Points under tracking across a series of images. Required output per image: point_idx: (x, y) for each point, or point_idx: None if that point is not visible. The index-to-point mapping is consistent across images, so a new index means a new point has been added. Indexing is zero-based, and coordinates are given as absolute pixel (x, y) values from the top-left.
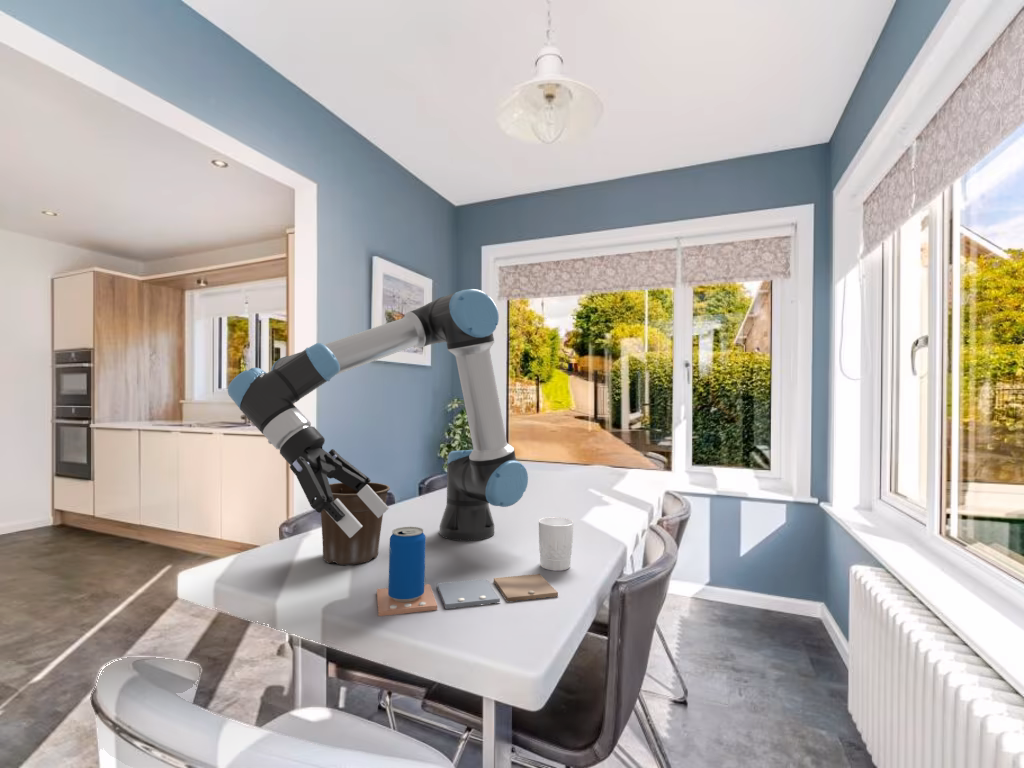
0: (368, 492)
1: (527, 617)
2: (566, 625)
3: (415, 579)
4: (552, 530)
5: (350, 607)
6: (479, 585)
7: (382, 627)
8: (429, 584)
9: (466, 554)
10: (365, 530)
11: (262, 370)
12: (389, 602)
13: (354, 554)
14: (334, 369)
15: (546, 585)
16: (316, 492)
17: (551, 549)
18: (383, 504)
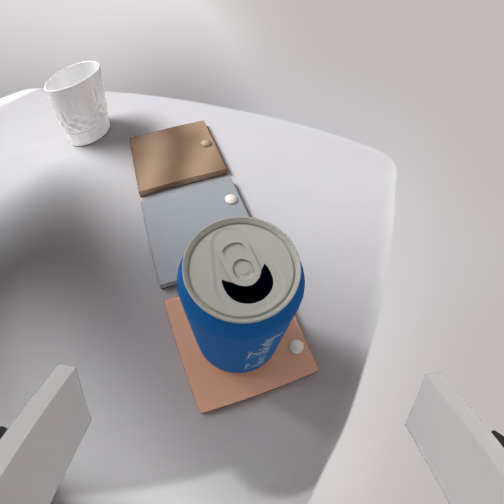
0: (19, 479)
1: (275, 153)
2: (289, 124)
3: (270, 291)
4: (95, 80)
5: (283, 444)
6: (172, 209)
7: (356, 347)
8: (165, 300)
9: (2, 257)
10: None
11: None
12: (273, 362)
13: None
14: None
15: (177, 130)
16: None
17: (100, 106)
18: (62, 388)
